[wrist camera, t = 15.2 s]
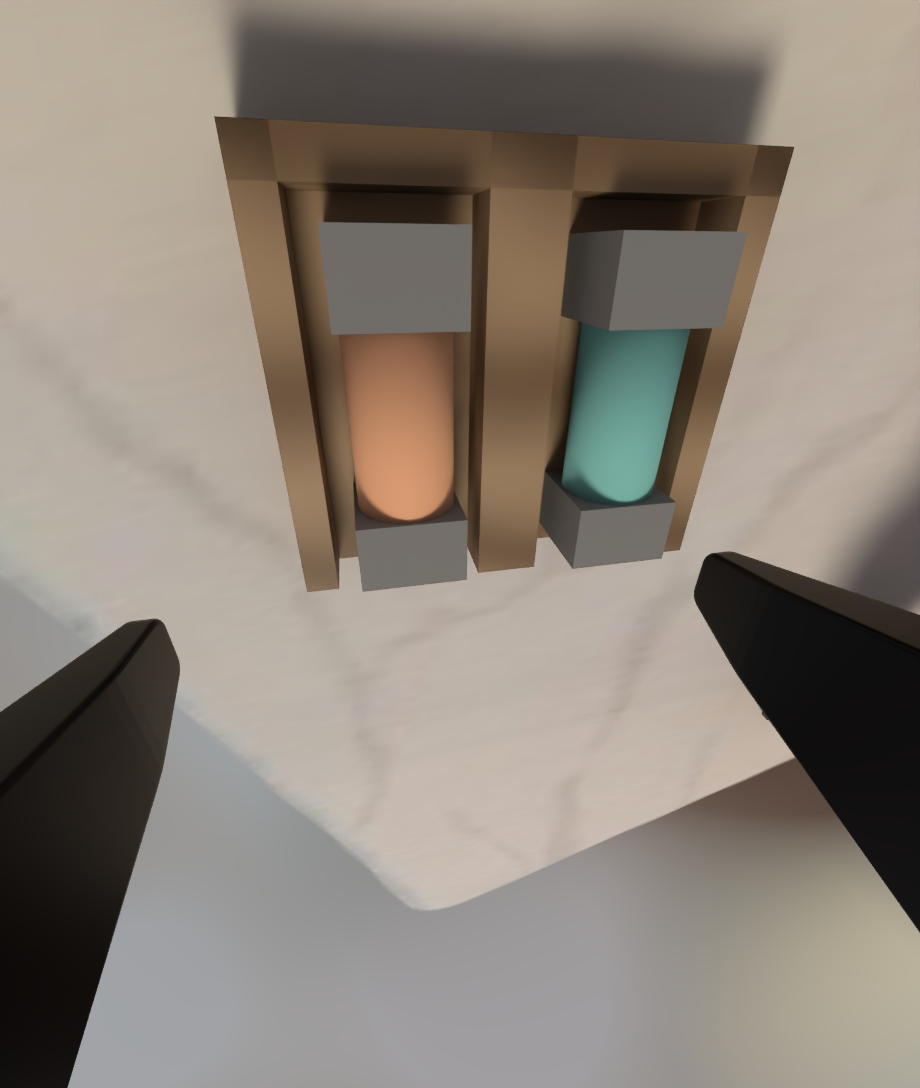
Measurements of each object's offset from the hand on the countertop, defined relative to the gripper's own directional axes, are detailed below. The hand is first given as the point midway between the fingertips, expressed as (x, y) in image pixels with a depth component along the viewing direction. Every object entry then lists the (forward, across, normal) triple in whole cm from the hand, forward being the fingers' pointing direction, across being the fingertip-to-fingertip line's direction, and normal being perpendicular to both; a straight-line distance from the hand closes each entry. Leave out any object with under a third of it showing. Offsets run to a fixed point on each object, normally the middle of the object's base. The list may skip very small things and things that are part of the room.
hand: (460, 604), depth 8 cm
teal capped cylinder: (+12, -8, 0) cm, 14 cm away
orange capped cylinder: (+12, 0, 0) cm, 12 cm away
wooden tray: (+12, -4, -1) cm, 13 cm away
